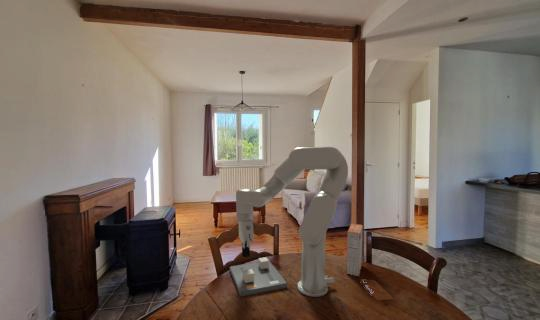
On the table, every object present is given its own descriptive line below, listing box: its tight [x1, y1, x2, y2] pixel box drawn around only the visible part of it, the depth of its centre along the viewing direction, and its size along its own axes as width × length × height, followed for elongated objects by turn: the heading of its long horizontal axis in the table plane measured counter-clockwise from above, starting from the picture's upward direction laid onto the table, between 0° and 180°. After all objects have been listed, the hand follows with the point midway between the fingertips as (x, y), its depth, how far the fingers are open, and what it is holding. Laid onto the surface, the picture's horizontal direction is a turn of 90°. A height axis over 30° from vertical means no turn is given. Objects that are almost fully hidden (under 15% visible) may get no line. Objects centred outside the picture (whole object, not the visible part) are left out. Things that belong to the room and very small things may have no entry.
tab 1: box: [243, 269, 254, 283], centre depth 104 cm, size 4×4×4 cm
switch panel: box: [229, 260, 288, 297], centre depth 110 cm, size 20×22×2 cm
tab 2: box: [257, 256, 270, 269], centre depth 116 cm, size 4×4×4 cm
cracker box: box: [346, 223, 364, 277], centre depth 120 cm, size 14×6×21 cm, turn 154°
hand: (246, 256), depth 111 cm, fingers closed
